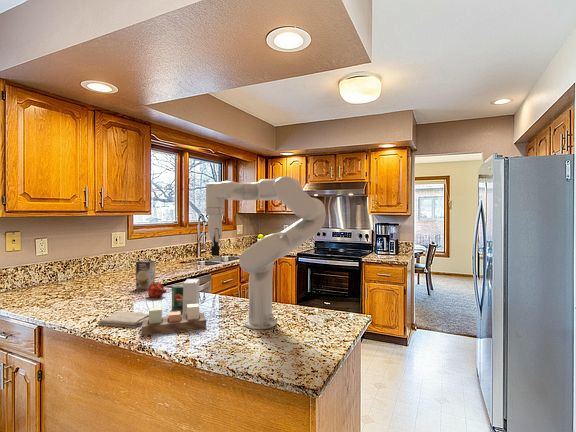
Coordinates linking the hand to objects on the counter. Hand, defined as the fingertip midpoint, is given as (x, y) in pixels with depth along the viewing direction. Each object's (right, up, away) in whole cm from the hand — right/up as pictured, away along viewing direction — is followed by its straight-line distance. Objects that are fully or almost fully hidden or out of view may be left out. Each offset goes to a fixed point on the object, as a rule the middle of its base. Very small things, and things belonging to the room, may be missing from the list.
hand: (215, 255), depth 139 cm
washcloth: (-36, -28, -3) cm, 46 cm away
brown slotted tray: (-14, -27, -10) cm, 32 cm away
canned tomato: (-20, -27, +16) cm, 37 cm away
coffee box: (-55, -27, +58) cm, 84 cm away
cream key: (-7, -24, -7) cm, 26 cm away
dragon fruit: (-40, -27, +37) cm, 61 cm away
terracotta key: (-14, -27, -10) cm, 31 cm away
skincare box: (-12, -27, +8) cm, 31 cm away
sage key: (-20, -24, -12) cm, 34 cm away
